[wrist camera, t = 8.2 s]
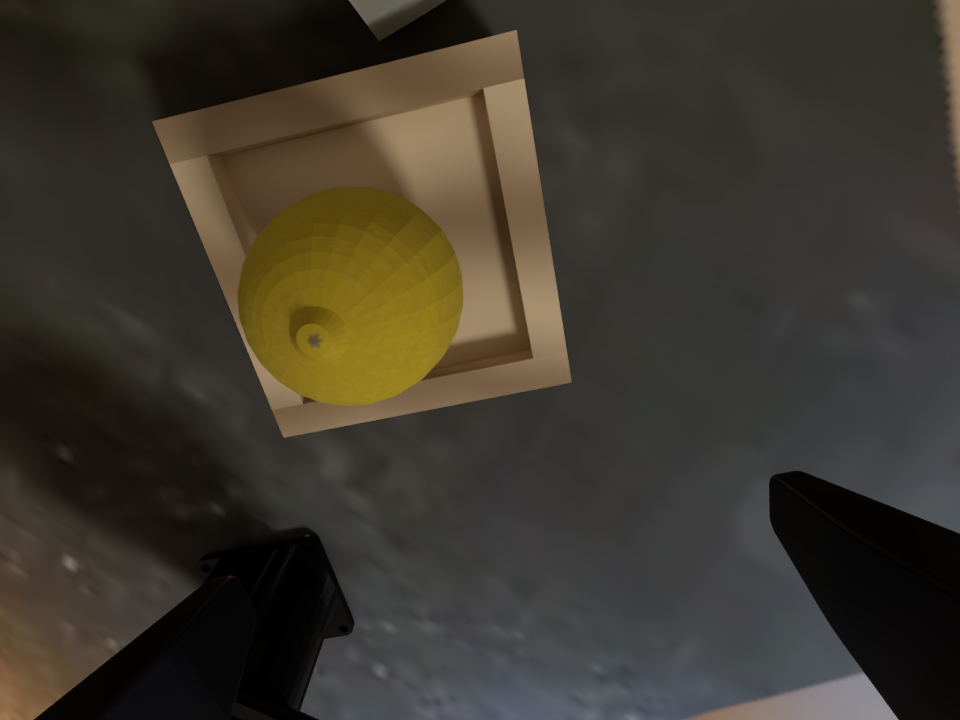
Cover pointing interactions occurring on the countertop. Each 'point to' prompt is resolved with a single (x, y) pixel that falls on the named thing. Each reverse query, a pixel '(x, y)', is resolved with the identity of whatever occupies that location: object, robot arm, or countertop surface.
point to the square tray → (410, 174)
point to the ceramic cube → (391, 13)
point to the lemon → (350, 296)
